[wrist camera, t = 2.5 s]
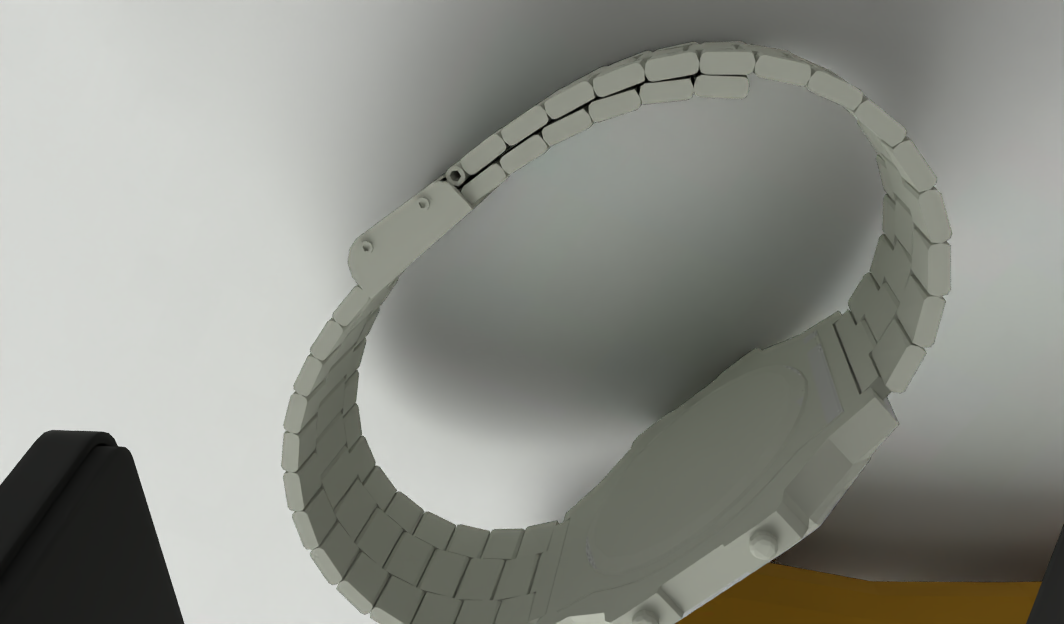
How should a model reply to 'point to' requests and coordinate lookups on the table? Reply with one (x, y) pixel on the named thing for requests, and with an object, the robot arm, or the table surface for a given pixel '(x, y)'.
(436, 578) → the wristwatch
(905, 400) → the table surface
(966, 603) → the staff
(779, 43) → the table surface
